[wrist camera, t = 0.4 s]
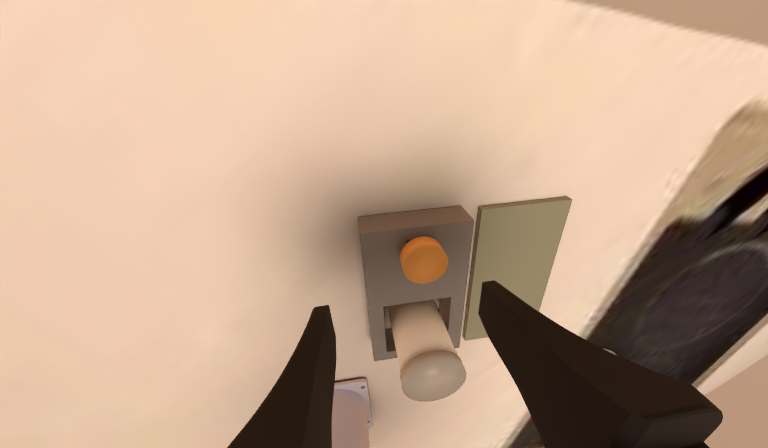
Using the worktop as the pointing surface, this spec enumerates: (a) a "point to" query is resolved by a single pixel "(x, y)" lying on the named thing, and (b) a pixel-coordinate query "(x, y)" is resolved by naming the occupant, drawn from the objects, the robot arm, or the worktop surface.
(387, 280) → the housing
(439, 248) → the button
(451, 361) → the cylinder
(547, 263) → the mat
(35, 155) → the worktop surface
